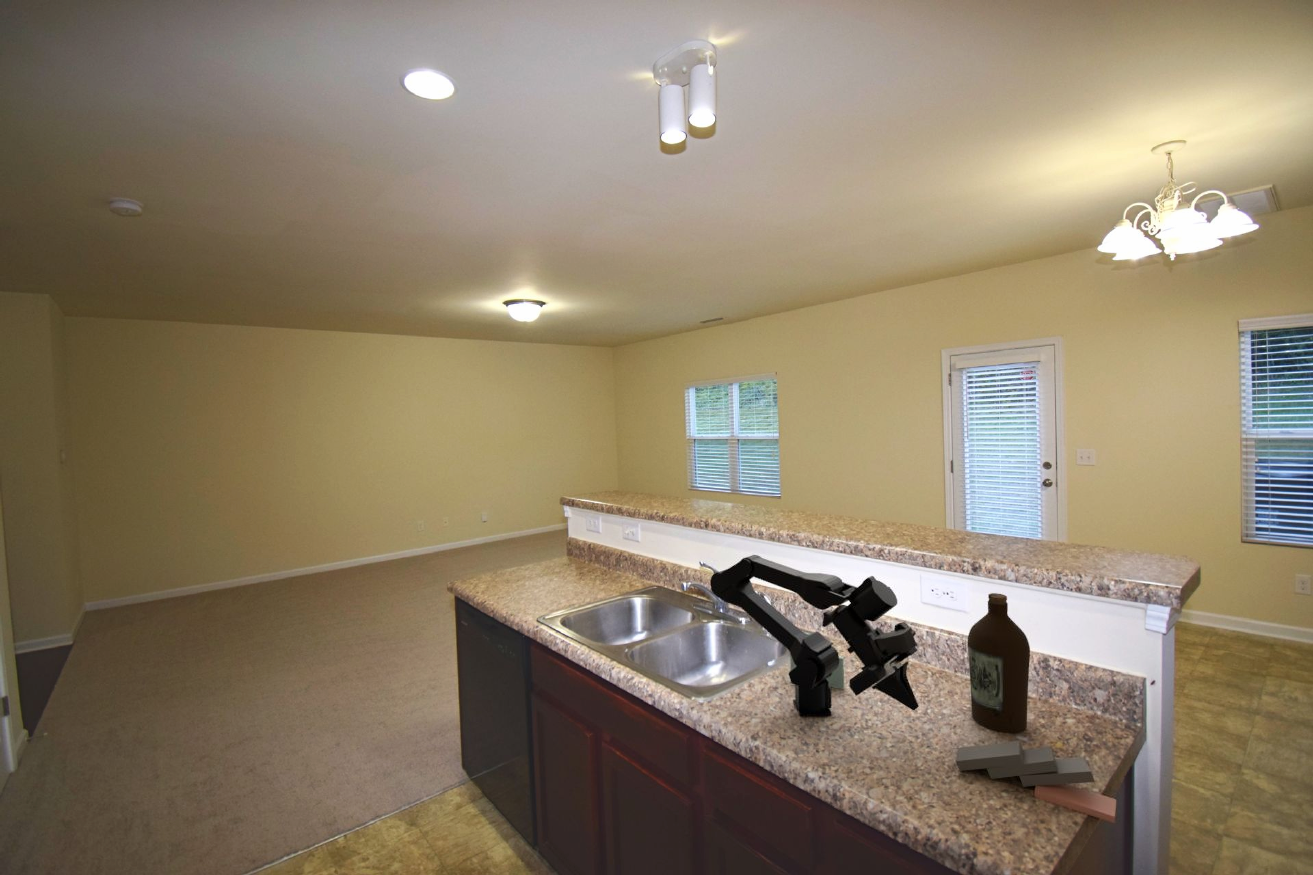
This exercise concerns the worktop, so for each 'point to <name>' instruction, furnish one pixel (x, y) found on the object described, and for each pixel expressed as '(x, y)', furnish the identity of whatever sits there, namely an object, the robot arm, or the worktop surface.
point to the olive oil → (999, 669)
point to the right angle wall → (837, 675)
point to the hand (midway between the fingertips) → (916, 708)
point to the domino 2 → (1028, 764)
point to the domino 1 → (990, 756)
